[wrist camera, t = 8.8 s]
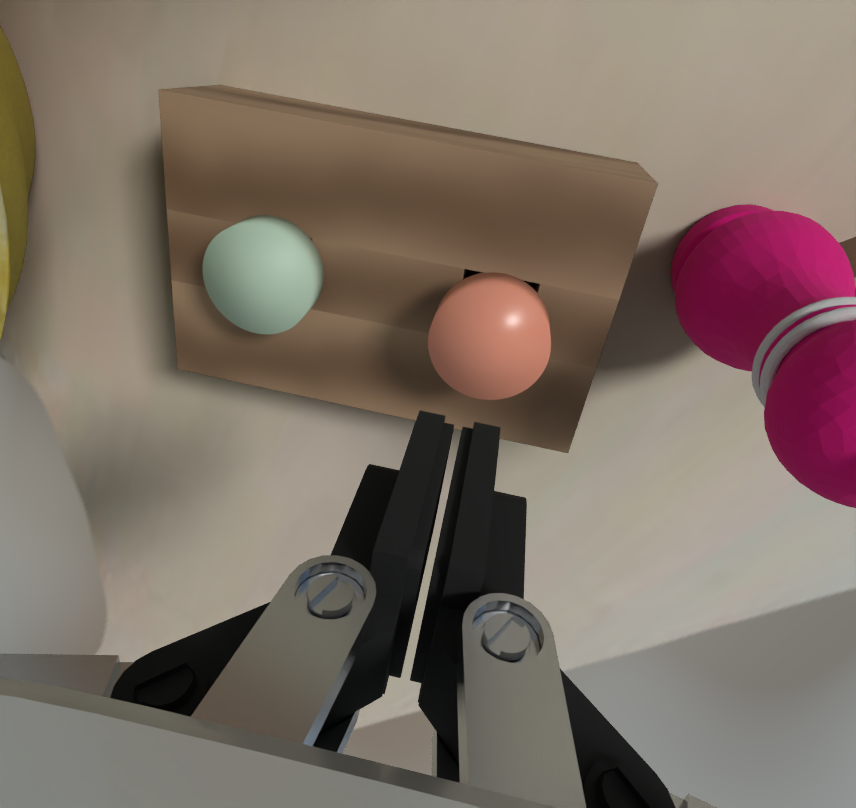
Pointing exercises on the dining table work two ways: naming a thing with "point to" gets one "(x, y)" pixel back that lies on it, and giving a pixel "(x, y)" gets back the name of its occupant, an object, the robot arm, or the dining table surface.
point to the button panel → (396, 249)
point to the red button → (490, 336)
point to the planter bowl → (13, 172)
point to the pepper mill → (780, 331)
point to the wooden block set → (851, 253)
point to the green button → (263, 274)
